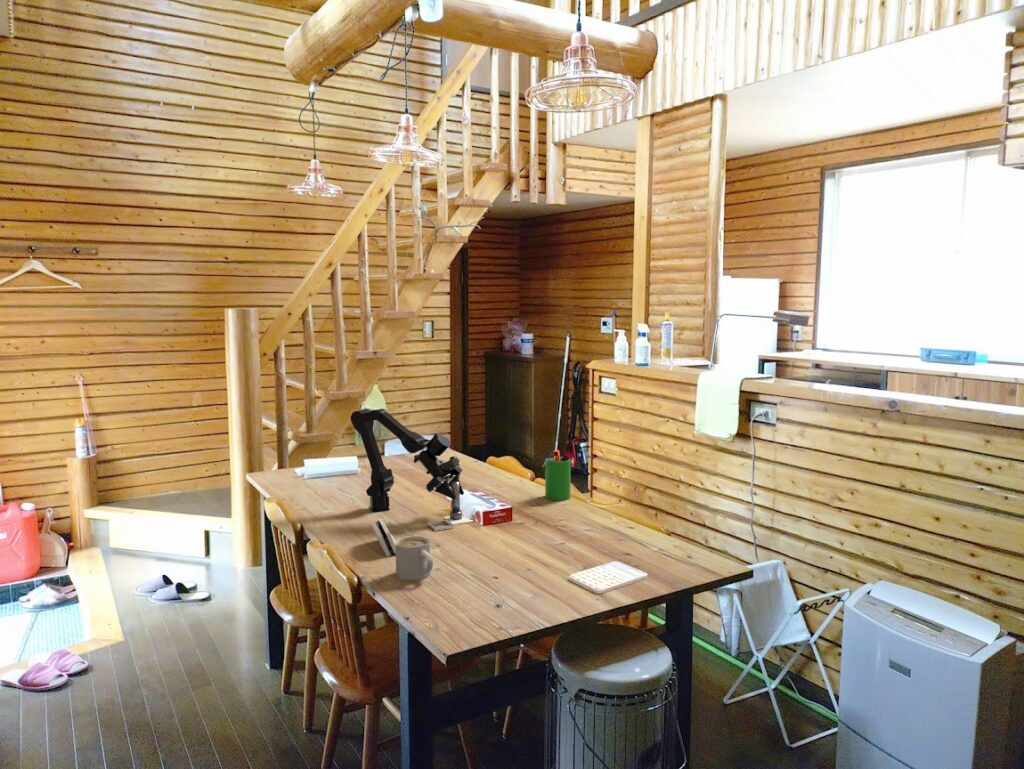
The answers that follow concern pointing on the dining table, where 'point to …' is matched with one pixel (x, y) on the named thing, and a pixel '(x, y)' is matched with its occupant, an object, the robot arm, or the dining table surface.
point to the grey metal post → (455, 502)
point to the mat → (460, 521)
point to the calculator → (607, 577)
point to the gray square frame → (431, 524)
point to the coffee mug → (413, 558)
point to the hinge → (382, 534)
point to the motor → (557, 478)
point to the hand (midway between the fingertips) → (459, 496)
